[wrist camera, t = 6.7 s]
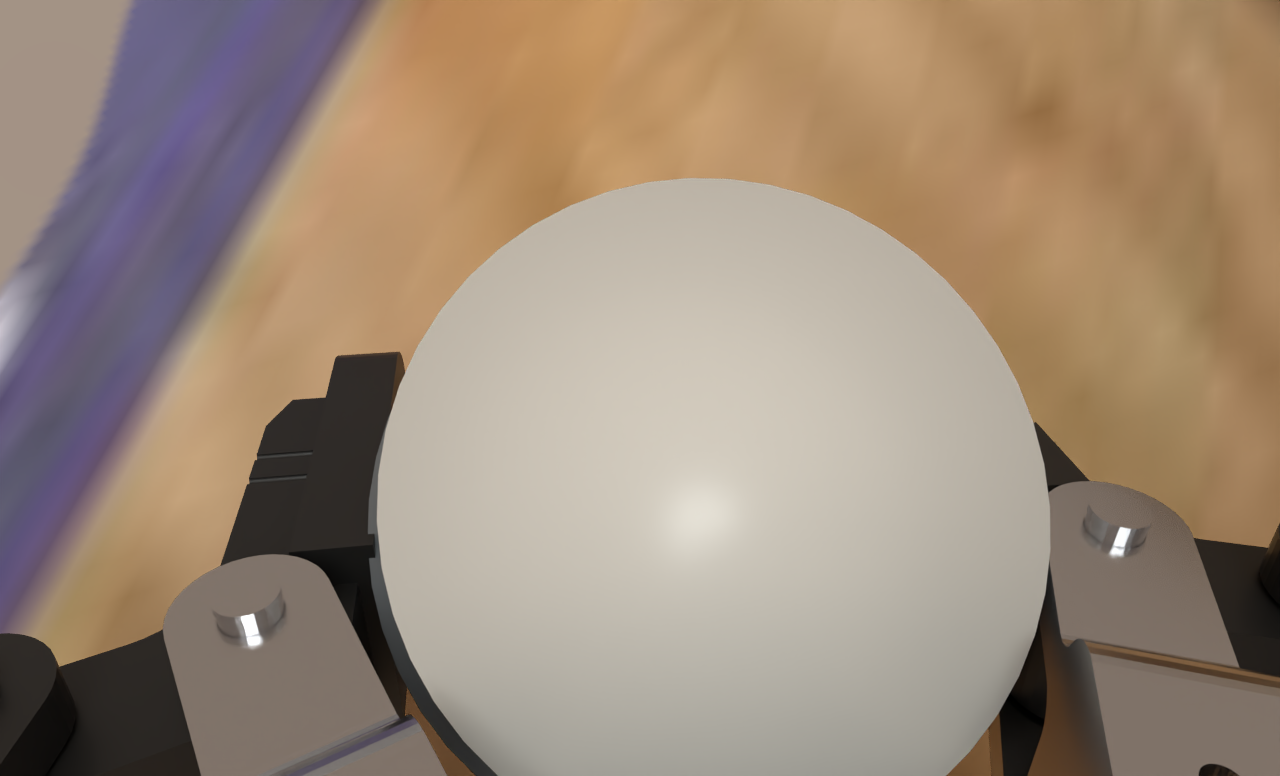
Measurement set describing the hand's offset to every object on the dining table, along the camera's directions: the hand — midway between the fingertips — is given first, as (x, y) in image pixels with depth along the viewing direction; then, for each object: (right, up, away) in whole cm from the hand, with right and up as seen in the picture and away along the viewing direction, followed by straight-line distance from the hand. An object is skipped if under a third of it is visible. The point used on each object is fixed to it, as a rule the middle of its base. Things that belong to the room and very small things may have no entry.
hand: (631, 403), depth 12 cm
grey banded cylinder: (0, -3, +4) cm, 5 cm away
